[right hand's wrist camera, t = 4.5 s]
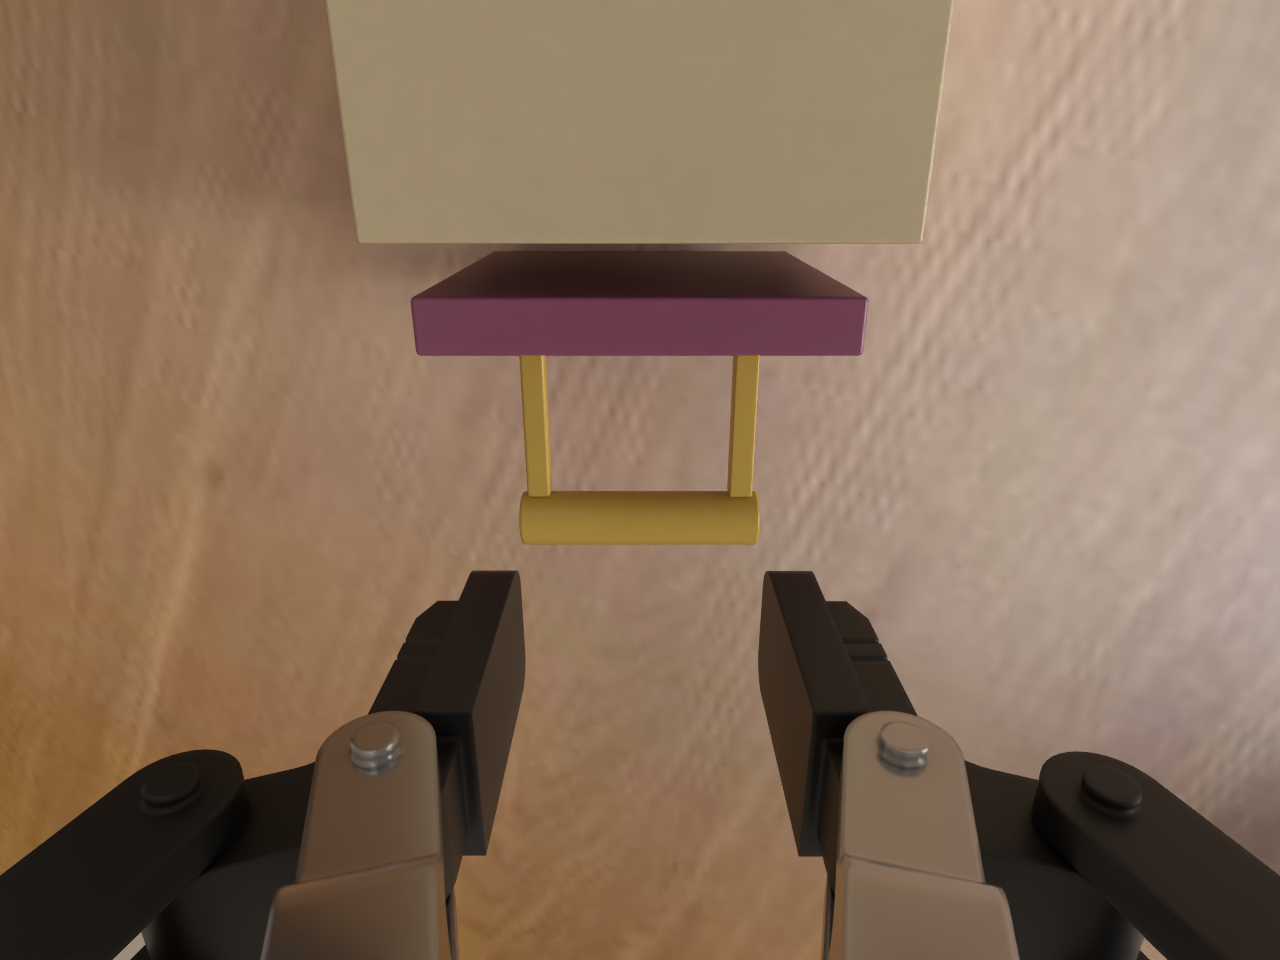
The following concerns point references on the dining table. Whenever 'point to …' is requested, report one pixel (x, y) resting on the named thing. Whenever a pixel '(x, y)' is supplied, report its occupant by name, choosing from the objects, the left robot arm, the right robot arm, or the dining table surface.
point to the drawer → (639, 326)
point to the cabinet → (639, 119)
